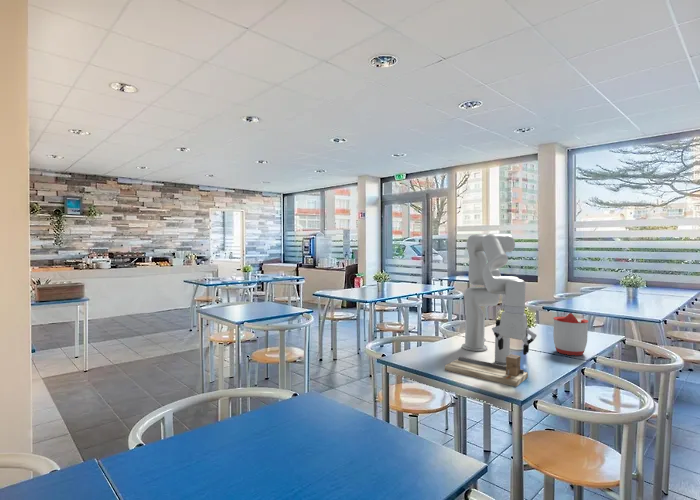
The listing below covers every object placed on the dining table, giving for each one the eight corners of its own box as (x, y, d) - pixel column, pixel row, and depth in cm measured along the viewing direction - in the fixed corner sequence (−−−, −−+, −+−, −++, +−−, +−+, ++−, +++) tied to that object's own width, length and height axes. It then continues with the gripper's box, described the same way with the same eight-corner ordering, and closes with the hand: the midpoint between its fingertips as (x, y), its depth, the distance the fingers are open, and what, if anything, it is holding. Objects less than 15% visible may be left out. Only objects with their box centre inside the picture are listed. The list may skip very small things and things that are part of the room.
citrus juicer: (595, 353, 208) (596, 314, 207) (577, 359, 198) (578, 317, 197) (564, 346, 220) (565, 309, 220) (545, 351, 210) (547, 312, 210)
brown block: (510, 371, 172) (510, 354, 171) (520, 373, 169) (520, 356, 169) (502, 376, 165) (503, 358, 165) (513, 378, 163) (513, 360, 162)
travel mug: (511, 365, 186) (512, 321, 186) (495, 364, 188) (496, 320, 187) (508, 361, 193) (509, 318, 192) (493, 360, 194) (494, 317, 193)
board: (459, 362, 190) (459, 355, 190) (527, 377, 171) (528, 368, 170) (444, 370, 179) (445, 361, 179) (516, 386, 160) (516, 377, 160)
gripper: (489, 308, 170) (488, 349, 171) (534, 314, 159) (532, 358, 160) (496, 305, 176) (495, 345, 177) (539, 311, 165) (538, 353, 166)
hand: (512, 351), depth 169 cm, fingers open, 9 cm apart
